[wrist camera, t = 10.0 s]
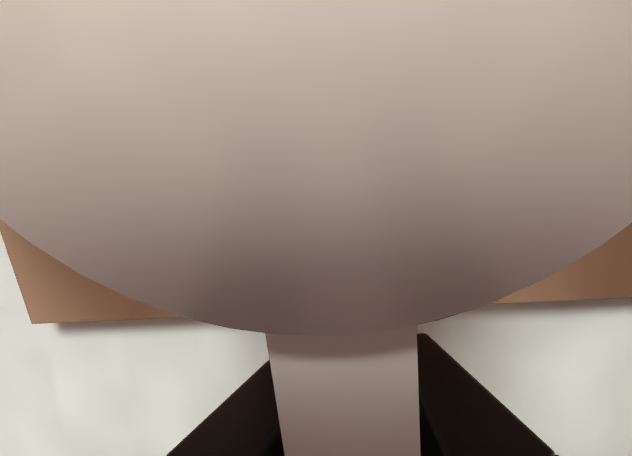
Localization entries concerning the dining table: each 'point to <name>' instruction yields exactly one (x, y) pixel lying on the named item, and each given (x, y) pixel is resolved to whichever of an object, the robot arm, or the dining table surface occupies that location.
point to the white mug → (318, 171)
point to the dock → (106, 304)
